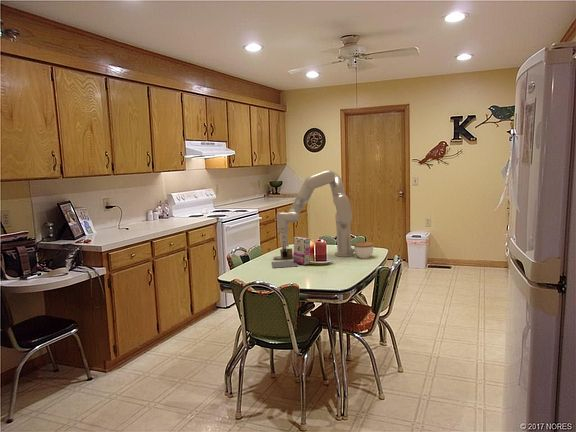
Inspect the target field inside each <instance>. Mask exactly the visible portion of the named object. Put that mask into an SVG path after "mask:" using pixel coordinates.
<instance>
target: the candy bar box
mask: <svg viewBox="0 0 576 432" xmlns="http://www.w3.org/2000/svg"><path fill="white" fill-rule="evenodd" d="M310 253H311V239H310V238H307V237H301V236H294V237H293V258H292V259H293V260H292V261H293V262H296V263H297V264H299V265H303V266H306V265H310V263H311V262H310V260H311V259H310V257H311V256H310V255H311V254H310Z"/></svg>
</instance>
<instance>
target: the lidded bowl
mask: <svg viewBox="0 0 576 432" xmlns="http://www.w3.org/2000/svg"><path fill="white" fill-rule="evenodd" d="M353 249H354V250H355V252H354V254H355V255H356V256H357V257H358V259H364V260H365V259H369V258H370V257H371V256H372V254H373V252H374V243H373V242H370V241H365V240H362V241H359V242H358V241H357V242H355V243H353Z"/></svg>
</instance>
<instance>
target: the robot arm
mask: <svg viewBox="0 0 576 432" xmlns="http://www.w3.org/2000/svg"><path fill="white" fill-rule="evenodd" d="M326 185H329V186H330V189H331V195H332V202H333V205H334V206H335V210H336V213H335V217H334V218H335V225H336V227H335V228H336V251H337V252H335V254H334V255H335V256H336V257H341V258H342V257H345V258H346V257H352V256H354V254H355V250H354V248H353V247H352V235H351V234H352V233H351V231H352V230H351V223H352V220H353V214H352V208H351V207H352V206H351V203H350V199H349V197H348V195H346V192H345V191H346V190H345V188H344V187H345V186H344V183H343V180H342V178H341V177H340V175H338V173H337V172H335V171H333V170H332V169H331V170H330V169H324V170H322V172H320V173H317V174H314V175H308V176H306V178H305V179H304V181H303V183H302V185H301V187H300V189H299V191H298V192H297V195H296V197H295V199H294V201H293V203H292V204H291V207H290V208H289V210H288V212H287V211H278V212H277V213H276V226H277V233H278V234H279V241H280V246H281V249H283V252H282V254H283V258H285V257H287V249H288V248H289V246H290V245H289V235H288V233H290V231H289V223H293V224H294V223H297V222H298V221H299V220H300V214H301V212H302V210H303V208H304V207H305V205H306V204H307V203H309V201H310V198H311V197H312V195H313V193H314V191H315V189H317V188H321V187H323V186H326Z"/></svg>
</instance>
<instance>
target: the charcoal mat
mask: <svg viewBox="0 0 576 432" xmlns="http://www.w3.org/2000/svg"><path fill="white" fill-rule="evenodd" d="M297 267H298V263H296V262H293V260H284V261H283V260H282V261H272V262H271V268H272V269H284V268H285V269H286V268H297Z"/></svg>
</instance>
